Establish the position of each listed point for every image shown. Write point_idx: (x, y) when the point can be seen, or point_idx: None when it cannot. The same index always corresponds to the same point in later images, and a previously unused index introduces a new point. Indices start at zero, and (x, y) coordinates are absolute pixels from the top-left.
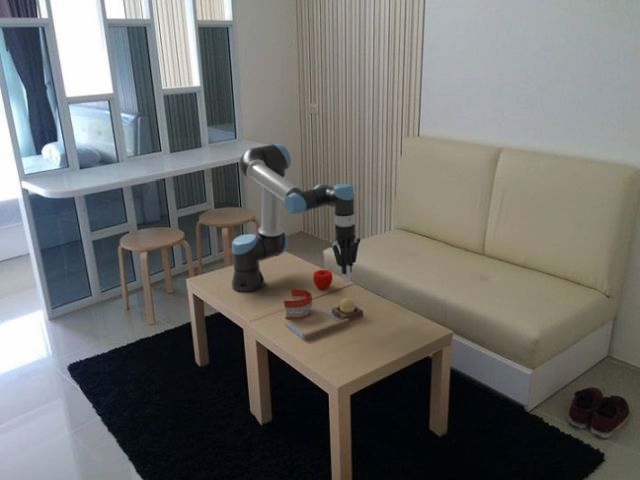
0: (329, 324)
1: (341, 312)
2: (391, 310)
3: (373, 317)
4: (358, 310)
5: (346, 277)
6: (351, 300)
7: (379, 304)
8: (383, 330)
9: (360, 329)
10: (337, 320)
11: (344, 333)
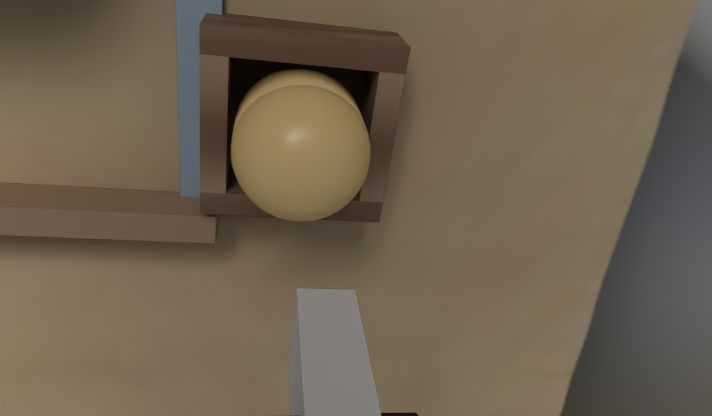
0: (36, 210)
1: (225, 142)
2: (565, 238)
3: (416, 236)
4: (355, 202)
5: (292, 406)
6: (327, 210)
7: (597, 128)
8: None
9: (243, 296)
10: (179, 128)
11: (124, 277)
